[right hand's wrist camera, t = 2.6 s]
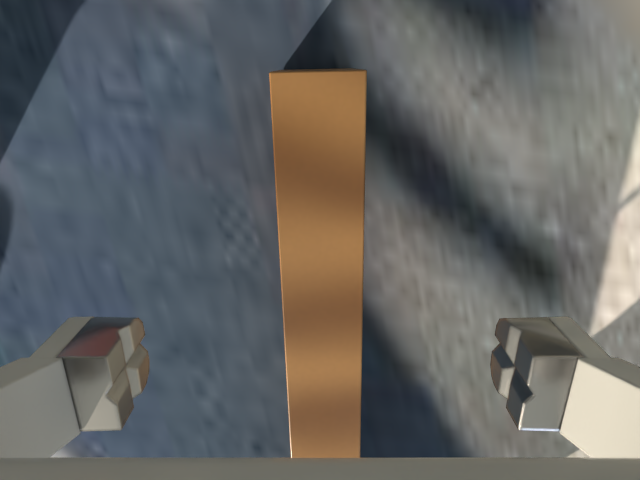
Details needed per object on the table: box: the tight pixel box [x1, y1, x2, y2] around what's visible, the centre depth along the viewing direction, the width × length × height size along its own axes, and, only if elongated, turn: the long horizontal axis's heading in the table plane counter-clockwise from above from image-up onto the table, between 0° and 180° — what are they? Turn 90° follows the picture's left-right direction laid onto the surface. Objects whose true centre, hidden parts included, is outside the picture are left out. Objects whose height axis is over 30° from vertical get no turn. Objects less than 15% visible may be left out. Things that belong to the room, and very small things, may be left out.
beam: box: [269, 68, 367, 458], centre depth 38 cm, size 63×5×9 cm, turn 1°
